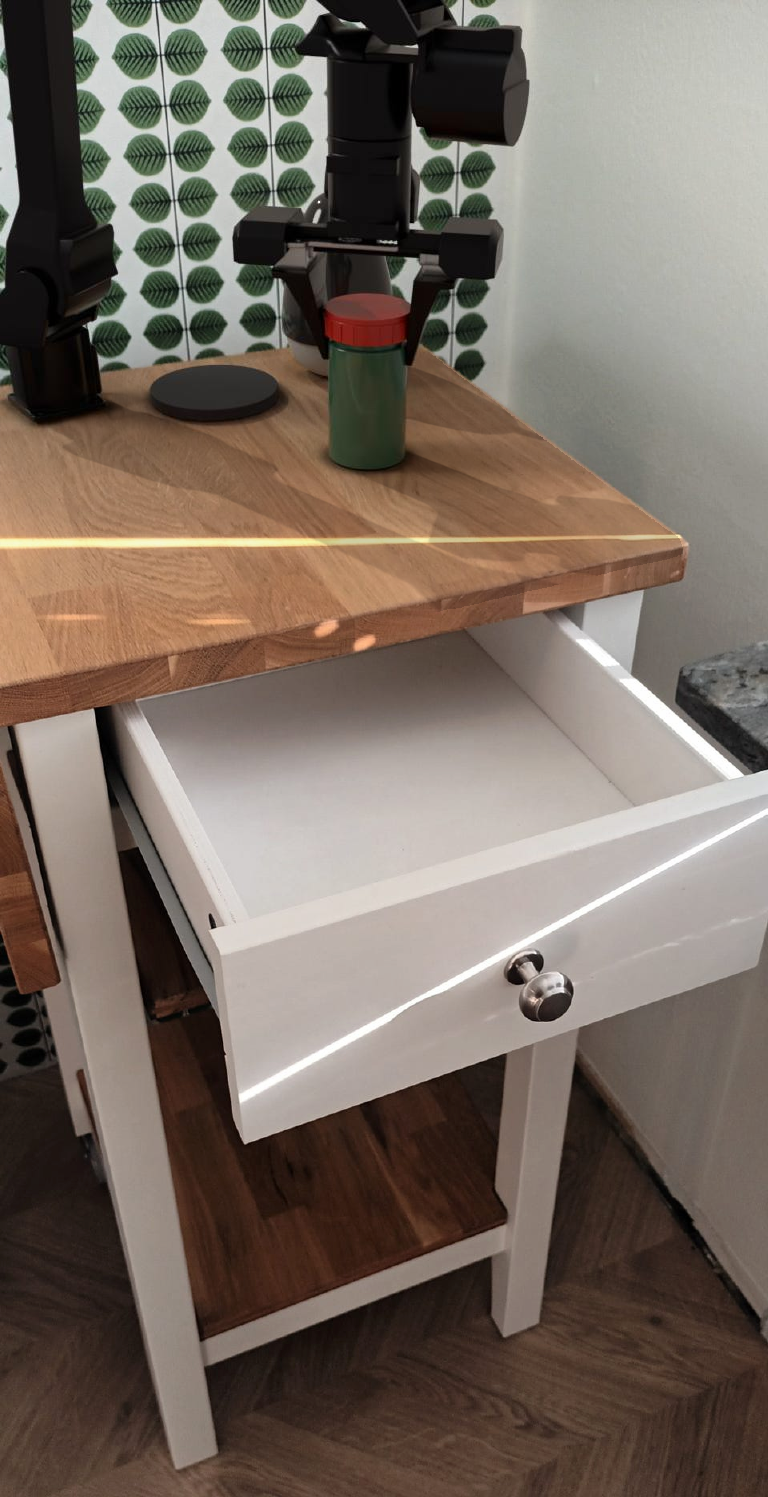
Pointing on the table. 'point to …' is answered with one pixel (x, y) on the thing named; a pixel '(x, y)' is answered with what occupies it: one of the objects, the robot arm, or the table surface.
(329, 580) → the table surface
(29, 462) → the table surface
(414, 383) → the table surface
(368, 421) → the jar
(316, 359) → the pump dispenser
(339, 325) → the lid
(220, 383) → the coaster
